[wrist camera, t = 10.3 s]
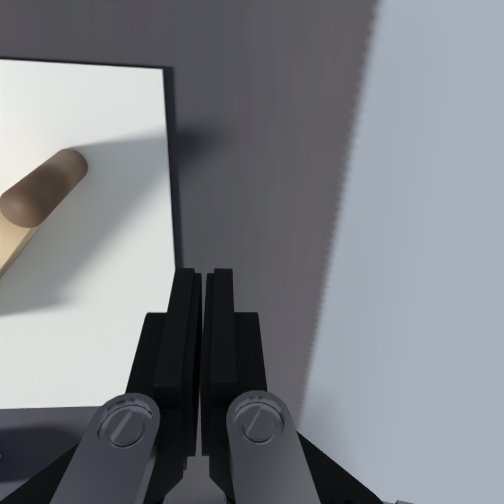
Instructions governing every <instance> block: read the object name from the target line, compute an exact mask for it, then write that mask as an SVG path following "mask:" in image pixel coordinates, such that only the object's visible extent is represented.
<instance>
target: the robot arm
mask: <svg viewBox="0 0 504 504" xmlns="http://www.w3.org/2000/svg"><path fill="white" fill-rule="evenodd" d="M199 393H200V400H201V440H202V456H209V473H210V478H211V479H212V480H213V481H214V482H215V483H216V484H217V485H218V486H219V488H220V489H221V490H222V491H223V496H224V503H225V504H393V503H388V502H384V501H381V500H380V499H379V498H378V497H377V496H376V495H375V494H374V493H373V492H371V491H370V490H369V489H368V488H366V487H365V486H364V485H363V484H362V483H360V482H359V481H358V480H357V479H355V478H354V477H353V476H352V475H350V474H349V473H348V472H347V471H345V470H344V469H343V468H342V467H341V466H339V465H338V464H337V463H336V462H334V461H333V460H332V459H330V458H329V457H328V456H327V455H326V454H324V453H323V452H322V451H321V450H319V449H318V448H317V447H316V446H314V445H313V444H312V443H311V442H310V441H308V440H307V439H306V438H305V437H303V436H302V435H301V434H300V433H298V432H297V431H296V428H295V425H294V422H293V419H292V416H291V413H290V411H289V410H288V408H287V406H286V404H285V403H284V402H283V401H282V400H281V399H280V398H279V397H277V396H275V395H274V394H272V393H269V392H267V384H266V376H265V367H264V359H263V351H262V342H261V334H260V325H259V317H258V313H257V312H234V299H233V272H232V269H214V273H207V281H206V297H205V312H204V328H203V330H202V275H201V273H195V270H194V268H176V269H175V273H174V278H173V283H172V288H171V293H170V298H169V304H168V309H167V312H147V314H146V316H145V319H144V323H143V326H142V330H141V334H140V338H139V341H138V345H137V349H136V353H135V357H134V360H133V364H132V368H131V372H130V375H129V379H128V383H127V387H126V391H125V394H122V395H119V396H116V397H114V398H112V399H110V400H109V401H107V402H106V403H105V404H103V405H102V406H101V407H100V408H99V409H98V410H97V412H96V413H95V415H94V416H93V418H92V419H91V421H90V423H89V425H88V427H87V429H86V431H85V433H84V435H83V437H82V439H81V441H80V443H78V444H77V445H76V446H74V447H73V448H72V449H70V450H69V451H68V452H66V453H65V454H63V455H62V456H61V457H59V458H58V459H57V460H55V461H54V462H53V463H51V464H50V465H49V466H47V467H46V468H45V469H43V470H42V471H41V472H39V473H38V474H37V475H35V476H34V477H33V478H31V479H30V480H28V481H27V482H26V483H24V484H23V485H22V486H20V487H19V488H18V489H16V490H15V491H14V492H12V493H11V494H10V495H8V496H7V497H6V498H4V499H3V500H2V501H0V504H167V503H168V499H169V491H170V490H171V489H172V488H173V487H174V486H175V485H176V484H177V483H178V482H179V481H180V480H181V479H182V478H183V470H186V468H187V457H188V456H195V454H196V440H197V424H198V408H199ZM395 504H412V503H408V502H403V501H397V502H396V503H395Z"/></svg>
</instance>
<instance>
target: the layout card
mask: <svg viewBox="0 0 504 504" xmlns="http://www.w3.org/2000/svg"><path fill="white" fill-rule="evenodd" d="M62 149H72V150H75V151H77V152H79V153H80V154H81V155H82V156H83V157H84V158H85V159H86V161H87V164H88V172H87V174H86V176H85V177H84V178H83V179H82V180H81V181H80V182H79V183H78V184H77V185H76V186H75V187H74V189H73V190H72V191H71V192H70V193H69V194H68V195H67V196H66V197H65V198H64V199H63V200H62V202H61V203H60V204H59V205H58V206H57V207H56V208H55V209H54V210H53V211H52V212H51V214H50V215H49V216H48V218H47V219H46V220H45V222H44V223H43V224H42V225H41V227H40V228H39V229H38V231H37V232H36V233H35V235H34V236H33V237H32V239H31V240H30V241H29V242H28V244H27V245H26V246H25V248H24V249H23V250H22V252H21V253H20V254H19V256H18V257H17V258H16V259H15V261H14V262H13V263H12V265H11V266H10V267H9V269H8V270H7V271H6V273H5V274H4V275H3V276H2V278H1V279H0V409H9V408H42V407H76V406H102V405H103V404H105V403H106V402H107V401H109V400H110V399H112V398H114V397H116V396H119V395H122V394H125V391H126V387H127V383H128V379H129V375H130V372H131V368H132V364H133V360H134V357H135V353H136V349H137V345H138V341H139V338H140V334H141V330H142V326H143V323H144V319H145V316H146V314H147V312H167V309H168V304H169V298H170V293H171V288H172V283H173V278H174V273H175V269H176V267H175V251H174V235H173V219H172V203H171V187H170V171H169V155H168V139H167V123H166V107H165V91H164V75H163V69H159V68H142V67H126V66H109V65H92V64H76V63H59V62H43V61H26V60H10V59H0V196H1V195H2V194H3V193H4V192H5V191H7V190H8V189H9V188H11V187H12V186H13V185H15V184H16V183H17V182H19V181H20V180H21V179H23V178H24V177H25V176H27V175H28V174H29V173H31V172H32V171H33V170H34V169H36V168H37V167H38V166H40V165H41V164H42V163H44V162H45V161H46V160H48V159H49V158H50V157H52V156H53V155H54V154H56V153H57V152H58V151H60V150H62Z"/></svg>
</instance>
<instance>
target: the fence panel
mask: <svg viewBox="0 0 504 504" xmlns="http://www.w3.org/2000/svg"><path fill="white" fill-rule="evenodd" d="M87 172H88V164H87V161H86V159H85V158H84V157H83V156H82V155H81V154H80V153H79V152H77V151H75V150H72V149H62V150H60V151H58V152H57V153H56V154H54V155H53V156H52V157H50V158H49V159H48V160H46V161H45V162H44V163H42V164H41V165H40V166H38V167H37V168H36V169H34V170H33V171H32V172H31V173H29V174H28V175H27V176H25V177H24V178H23V179H21V180H20V181H19V182H17V183H16V184H15V185H13V186H12V187H11V188H9V189H8V190H7V191H5V192H4V193H3V194H2V195H1V196H0V279H1V278H2V276H3V275H4V274H5V273H6V271H7V270H8V269H9V267H10V266H11V265H12V263H13V262H14V261H15V259H16V258H17V257H18V256H19V254H20V253H21V252H22V250H23V249H24V248H25V246H26V245H27V244H28V242H29V241H30V240H31V239H32V237H33V236H34V235H35V233H36V232H37V231H38V229H39V228H40V227H41V225H42V224H43V223H44V222H45V220H46V219H47V218H48V216H49V215H50V214H51V212H52V211H53V210H54V209H55V208H56V207H57V206H58V205H59V204H60V203H61V202H62V200H63V199H64V198H65V197H66V196H67V195H68V194H69V193H70V192H71V191H72V190H73V189H74V187H75V186H76V185H77V184H78V183H79V182H80V181H81V180H82V179H83V178H84V177H85V176H86V174H87Z"/></svg>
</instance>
